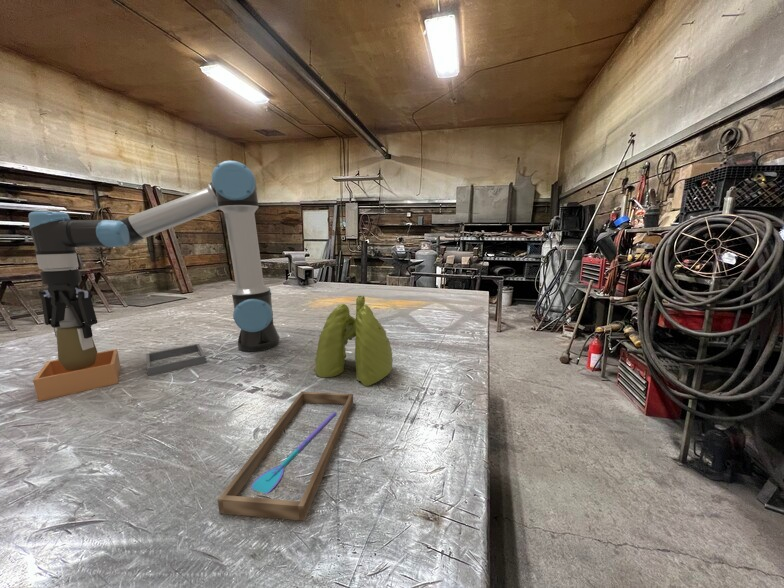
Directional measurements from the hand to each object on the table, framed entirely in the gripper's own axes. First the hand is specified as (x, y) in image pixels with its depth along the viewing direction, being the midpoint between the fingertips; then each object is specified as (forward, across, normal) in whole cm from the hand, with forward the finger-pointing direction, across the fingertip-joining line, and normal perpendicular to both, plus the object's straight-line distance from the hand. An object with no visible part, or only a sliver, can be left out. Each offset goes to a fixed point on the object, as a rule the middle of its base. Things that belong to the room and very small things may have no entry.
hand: (76, 348), depth 88 cm
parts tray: (+10, -16, -16) cm, 25 cm away
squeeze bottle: (+6, 0, 0) cm, 6 cm away
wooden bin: (+11, 0, 0) cm, 11 cm away
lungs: (+11, -79, -14) cm, 81 cm away
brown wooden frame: (+10, -76, +21) cm, 80 cm away
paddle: (+11, -76, +21) cm, 80 cm away
